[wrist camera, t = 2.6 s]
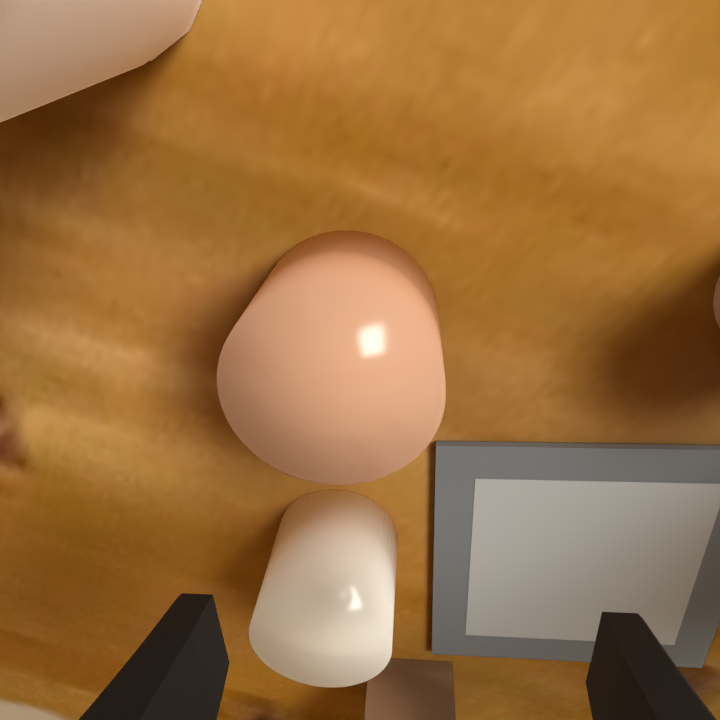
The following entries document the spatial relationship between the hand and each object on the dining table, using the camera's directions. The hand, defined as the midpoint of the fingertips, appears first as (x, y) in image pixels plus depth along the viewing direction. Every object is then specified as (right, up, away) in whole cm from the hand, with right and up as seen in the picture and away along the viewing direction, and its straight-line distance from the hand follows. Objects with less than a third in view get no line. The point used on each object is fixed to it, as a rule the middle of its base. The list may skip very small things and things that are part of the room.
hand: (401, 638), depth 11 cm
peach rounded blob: (-1, +7, +8) cm, 11 cm away
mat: (+8, -3, +13) cm, 15 cm away
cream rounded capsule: (-2, -2, +13) cm, 13 cm away
